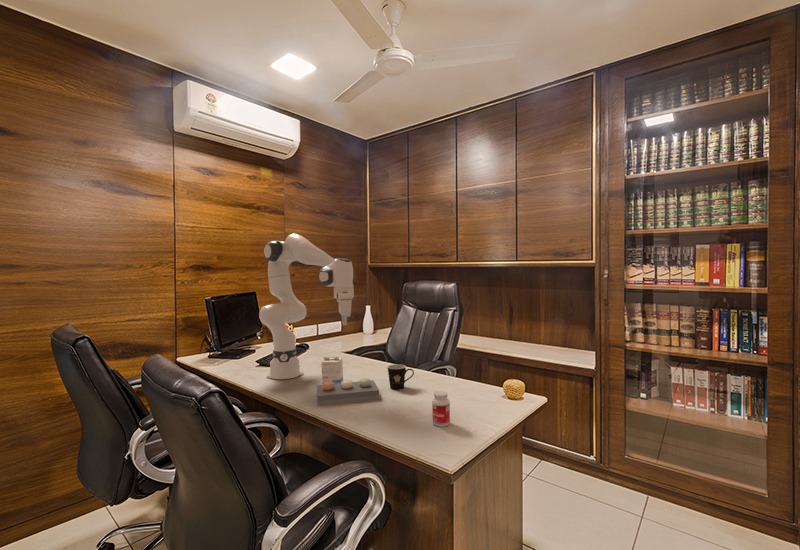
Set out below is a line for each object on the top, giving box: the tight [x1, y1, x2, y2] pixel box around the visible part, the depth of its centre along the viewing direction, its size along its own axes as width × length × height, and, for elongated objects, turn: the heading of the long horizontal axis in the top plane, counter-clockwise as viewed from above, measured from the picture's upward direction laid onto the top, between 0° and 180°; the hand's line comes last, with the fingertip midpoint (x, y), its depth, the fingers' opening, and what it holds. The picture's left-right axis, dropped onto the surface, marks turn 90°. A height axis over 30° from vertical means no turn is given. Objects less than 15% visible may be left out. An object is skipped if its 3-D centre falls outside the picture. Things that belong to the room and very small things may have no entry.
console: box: [316, 379, 380, 407], centre depth 163 cm, size 15×26×4 cm, turn 103°
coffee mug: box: [387, 363, 415, 391], centre depth 173 cm, size 12×9×10 cm
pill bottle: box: [431, 390, 451, 428], centre depth 132 cm, size 6×6×11 cm
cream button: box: [341, 379, 354, 389], centre depth 163 cm, size 5×5×4 cm
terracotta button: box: [321, 382, 334, 391], centre depth 161 cm, size 5×5×4 cm
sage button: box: [358, 378, 371, 387], centre depth 165 cm, size 5×5×4 cm
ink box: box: [321, 356, 344, 385], centre depth 184 cm, size 9×8×13 cm
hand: (344, 324), depth 167 cm, fingers closed
